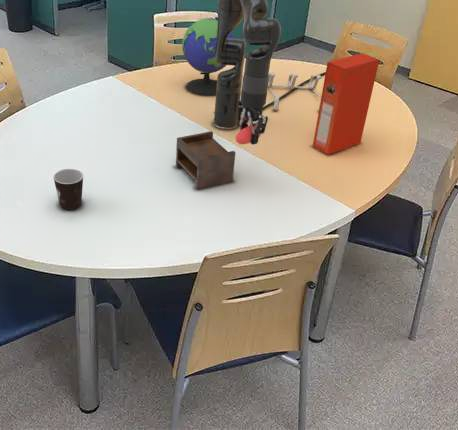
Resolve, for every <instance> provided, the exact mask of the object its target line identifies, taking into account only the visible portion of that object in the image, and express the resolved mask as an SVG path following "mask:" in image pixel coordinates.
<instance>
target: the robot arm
mask: <svg viewBox="0 0 458 430" xmlns="http://www.w3.org/2000/svg"><path fill="white" fill-rule="evenodd" d="M267 1H268V0H217V18H218V29H217V39H216V48H215V59H216V62H217V63H218V64H222V65H227V66H233V67H231V68H229V69H227V70H223V71H220V72H219V73H218V74H217V77H216V80H217V87H216V96H215V102H214V111H213V114H214V115H213V126H214V127H215V128H217V129H220V130H227V131H230V130H234V129H236V128H238V127H240V130H239V132H240V131H241V130H242V129H244V128H246V127H248V126H251V128H252V134H251V142H250V143H249V144H250V145H252V146H253V145H257V144H258V143H259V139H260V137H259V134H261V135H263V134H265V131H266V128H267V124H268V122H269V117H268V116H266V115H265V116H264V115H263V110H265V109H266V108H268V107H270V106H273V105H274V100H273V101H271V102H270V103H267V97H268V89H269V87H268V82H269V73H270V69H271V68H270V67H271V61H272V58H273V56H274V53H275V50H276V48H277V45H278V43H279V41H280V38H281V35H282V28H281V26H282V25H281V24H280V21H279V20H278V19H276V18H274V17H269V18H268V17H267V18H265V17H266V16H267V15H268V12H269V5H268V2H267ZM242 21H243V22H242ZM241 22H242V29H241V37H242V39H239V38H234V39H229V38H228V39H227V36H228V35H229V33H230V32H233V30H235V29H236V28H237V27H238V25H240V24H241ZM247 45H248V46H260V47H259V48H258V49H255V50H251V51H249V52H248V53H247ZM246 53H247V54H246ZM325 74H326V71H325V72H322V73H319V74H318V75H320V76H321V77H322V76H325ZM316 77H317V75H315V77H314V79H313V80H316ZM310 79H311V77H310V78H309V79H307V80H305V81H303V82H301V83H299V84H298V85H297V86H300V87H303V86H304V85H305V84H307V83H310ZM297 89H298V88H292V89H291V90H289V91H287V92H286V93H284V94H283V95H281V96H279V97H278V98H279V101H281V100H282V99H283V98H285V97H286V96H288V95H289V94H291V93H292V92H294V91H295V90H297ZM266 103H267V104H266ZM248 123H249V124H248ZM255 126H257V128H256V130H255Z"/></svg>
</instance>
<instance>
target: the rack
mask: <svg viewBox="0 0 458 430" xmlns="http://www.w3.org/2000/svg"><path fill="white" fill-rule="evenodd" d="M175 149H176V151H175V168H176V169H181V168H183V170H184V171H186V173H187V174H188V175H189V176H190V177H191V178H192V179H193V180H194V181H195V189H196V190H197V191H199V190H204V189H207V188H212V187H217V186H222V185H224V184H229V183H233V179H234V171H235V161H236V151H235V150H231V151H228V150H227V149H226V148H225V147H224V146H222V145H221V144H220V143H219V142H218V141H217V140H216V139H214V132H213V131H212V130H211V131H210V130H209V131H206V132H200V133H194V134H189V135H184V136H179V137H176V148H175Z"/></svg>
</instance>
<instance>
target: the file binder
mask: <svg viewBox="0 0 458 430" xmlns="http://www.w3.org/2000/svg"><path fill="white" fill-rule="evenodd" d="M379 64H380V59H379V58H377V57H374V56H371V55H368V54H366V53H357V54H353V55H349V56H346V57H341V58H338V59H334V60H331V61H327V64H326V69H325V72H326V74H324V80H323V84H322V90H321V91H322V92H321V95H320V96H321V98H320V99H321V100H320V102H319V107H318V113H317V120H316V123H315V131H314V136H313V142H312V148H314V149H316V150H317V151H320V152H321V153H323V154H325V155H331V154H335V153H337V152H340V151H343V150H345V149H348V148H352V147H354V146H357V145H358V144H359V145H360V144H361V142H362V138H363V134H364V129H365V125H366V120H367V117H368V112H369V108H370V104H371V99H372V94H373V90H374V85H375V81H376V76H377V73H378V68H379Z"/></svg>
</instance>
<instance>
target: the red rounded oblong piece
mask: <svg viewBox="0 0 458 430" xmlns="http://www.w3.org/2000/svg"><path fill="white" fill-rule="evenodd" d="M256 128H257V126H255V130H256ZM251 134H252V128H251V126H250V125H248V127H246V128H244V129H242V130H241V131H240V130H239V131H238V132H237V134H236V135H235V141H236V142H237V143H238V144H239V145H248V144H251V143H250V142H251ZM261 135H262V134H259V138H260V137H261Z"/></svg>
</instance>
